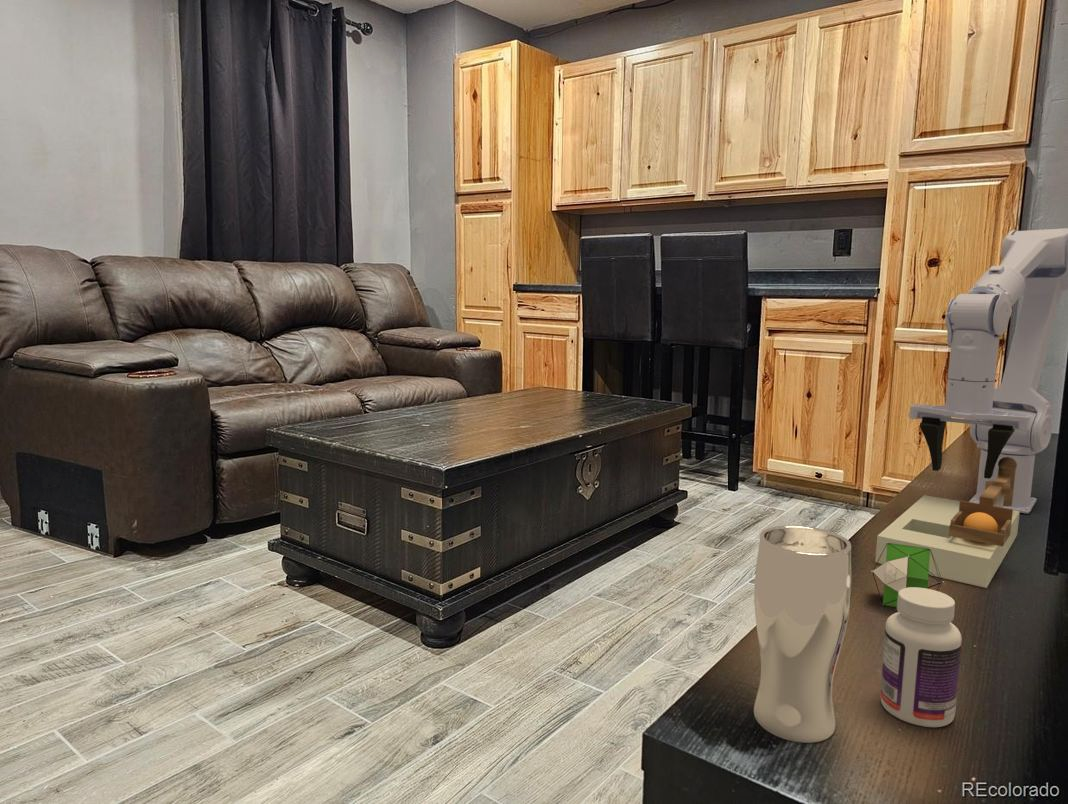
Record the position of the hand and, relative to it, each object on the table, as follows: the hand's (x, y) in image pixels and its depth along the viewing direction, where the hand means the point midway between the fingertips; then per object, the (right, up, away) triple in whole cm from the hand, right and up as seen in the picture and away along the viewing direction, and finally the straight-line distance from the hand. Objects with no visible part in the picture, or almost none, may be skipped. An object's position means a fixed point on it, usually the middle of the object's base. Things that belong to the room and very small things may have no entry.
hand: (962, 473), depth 103 cm
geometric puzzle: (-21, -12, -25) cm, 35 cm away
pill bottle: (-30, -15, -45) cm, 56 cm away
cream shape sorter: (-6, -9, -8) cm, 14 cm away
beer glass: (-41, -15, -46) cm, 64 cm away
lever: (-2, -5, -9) cm, 11 cm away
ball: (-7, -5, -16) cm, 18 cm away
